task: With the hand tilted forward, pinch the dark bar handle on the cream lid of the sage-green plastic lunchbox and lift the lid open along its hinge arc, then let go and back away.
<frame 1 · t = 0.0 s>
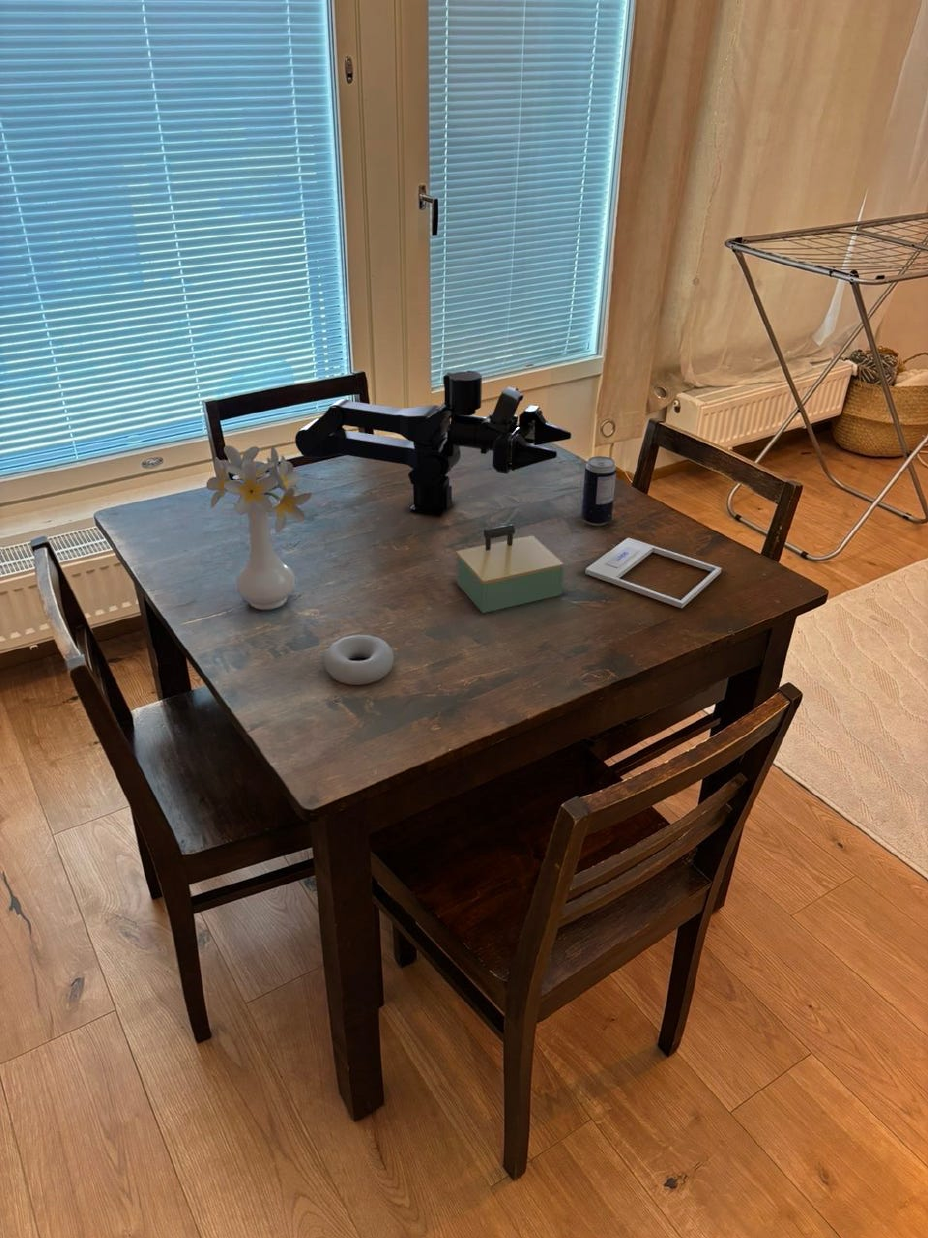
hand: (563, 444, 161), 17 cm above the table, tool horizontal, fingers open, 9 cm apart
photo frame: (652, 574, 156), on the table
lunchbox lid: (509, 549, 148), point 7 cm above the table, hinge at 0.0°
lunchbox: (508, 589, 152), on the table
flower vase: (273, 601, 148), on the table
donut: (359, 669, 133), on the table
beverage can: (595, 521, 173), on the table
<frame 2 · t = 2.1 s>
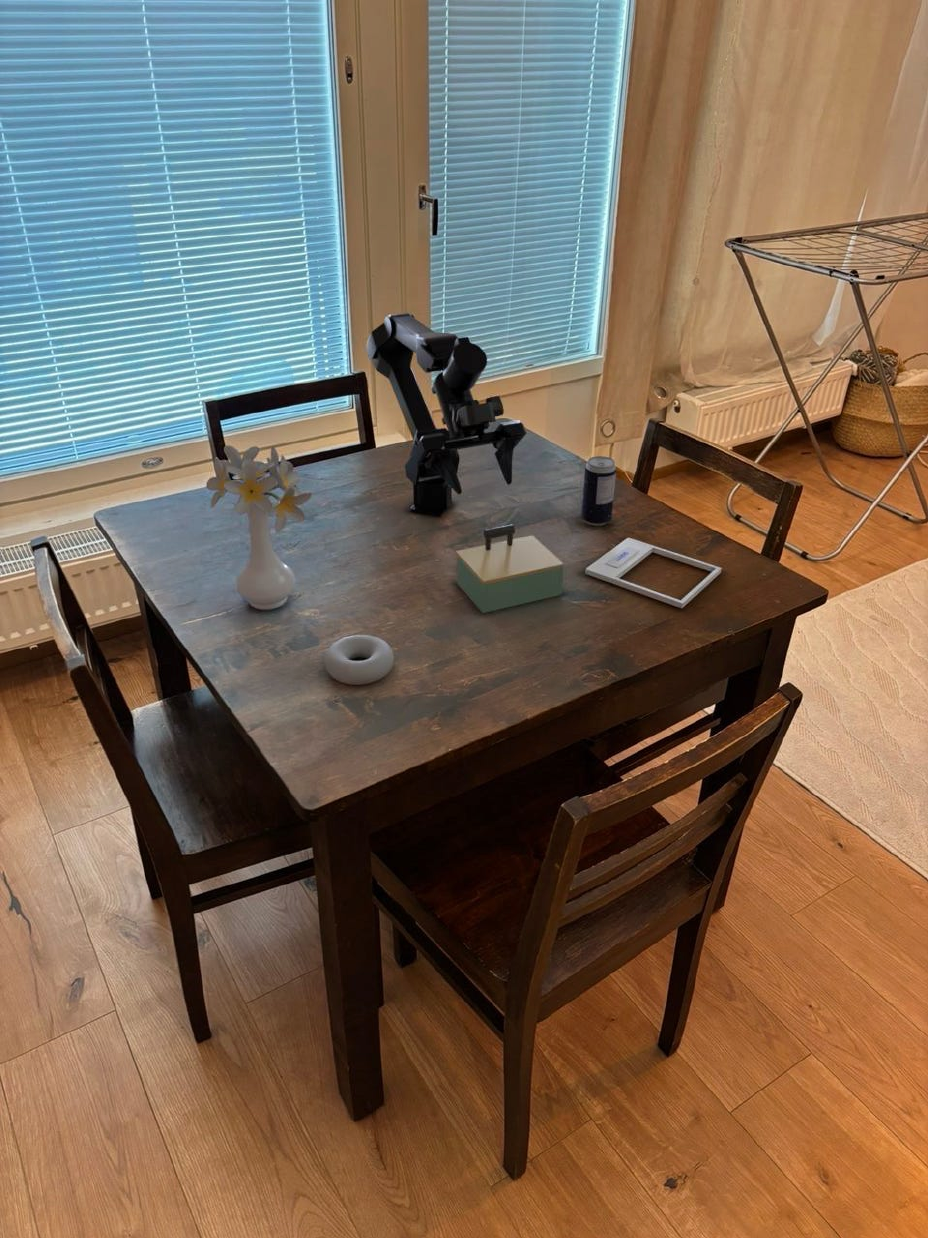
hand: (485, 488, 153), 14 cm above the table, tool tilted 45°, fingers open, 9 cm apart
nothing on the table moved.
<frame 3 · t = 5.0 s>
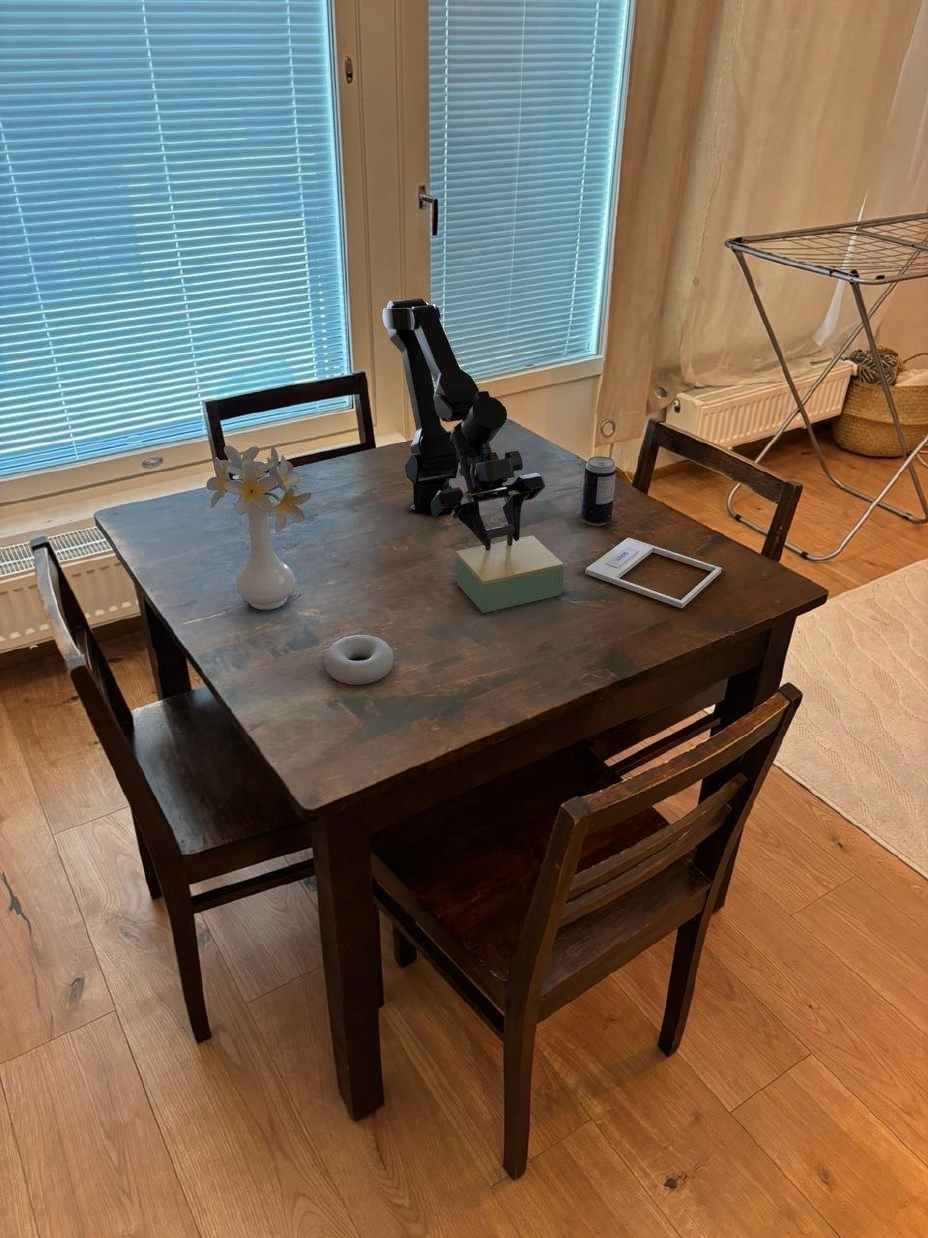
hand: (502, 543, 150), 7 cm above the table, tool tilted 45°, fingers closed on lunchbox lid, 5 cm apart
lunchbox lid: (509, 549, 148), point 7 cm above the table, hinge at 0.0°, touching gripper
everything else where it was.
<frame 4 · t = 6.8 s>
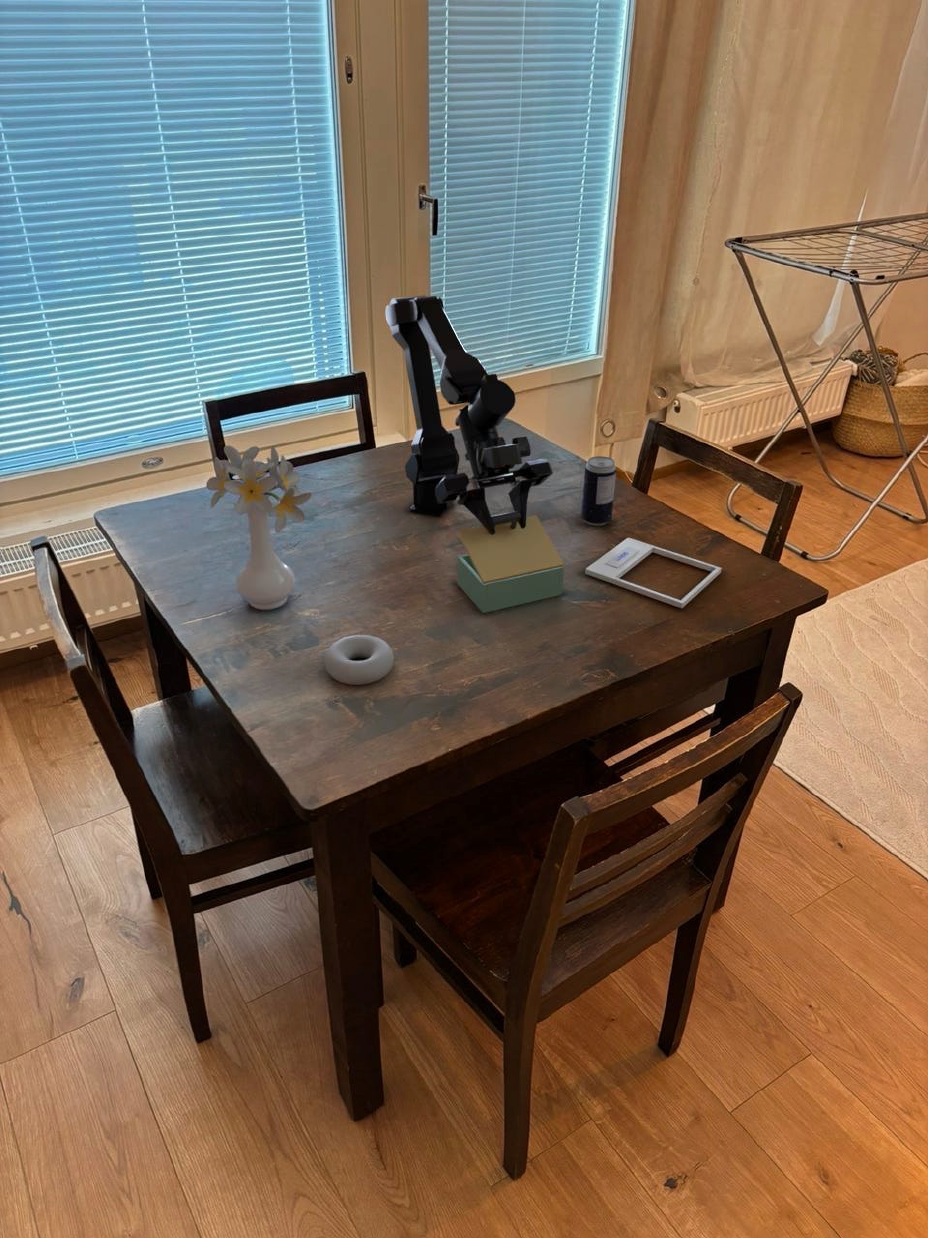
hand: (508, 531, 147), 10 cm above the table, tool tilted 45°, fingers closed on lunchbox lid, 5 cm apart
lunchbox lid: (512, 541, 146), point 9 cm above the table, hinge at 22.9°, touching gripper
everything else where it was.
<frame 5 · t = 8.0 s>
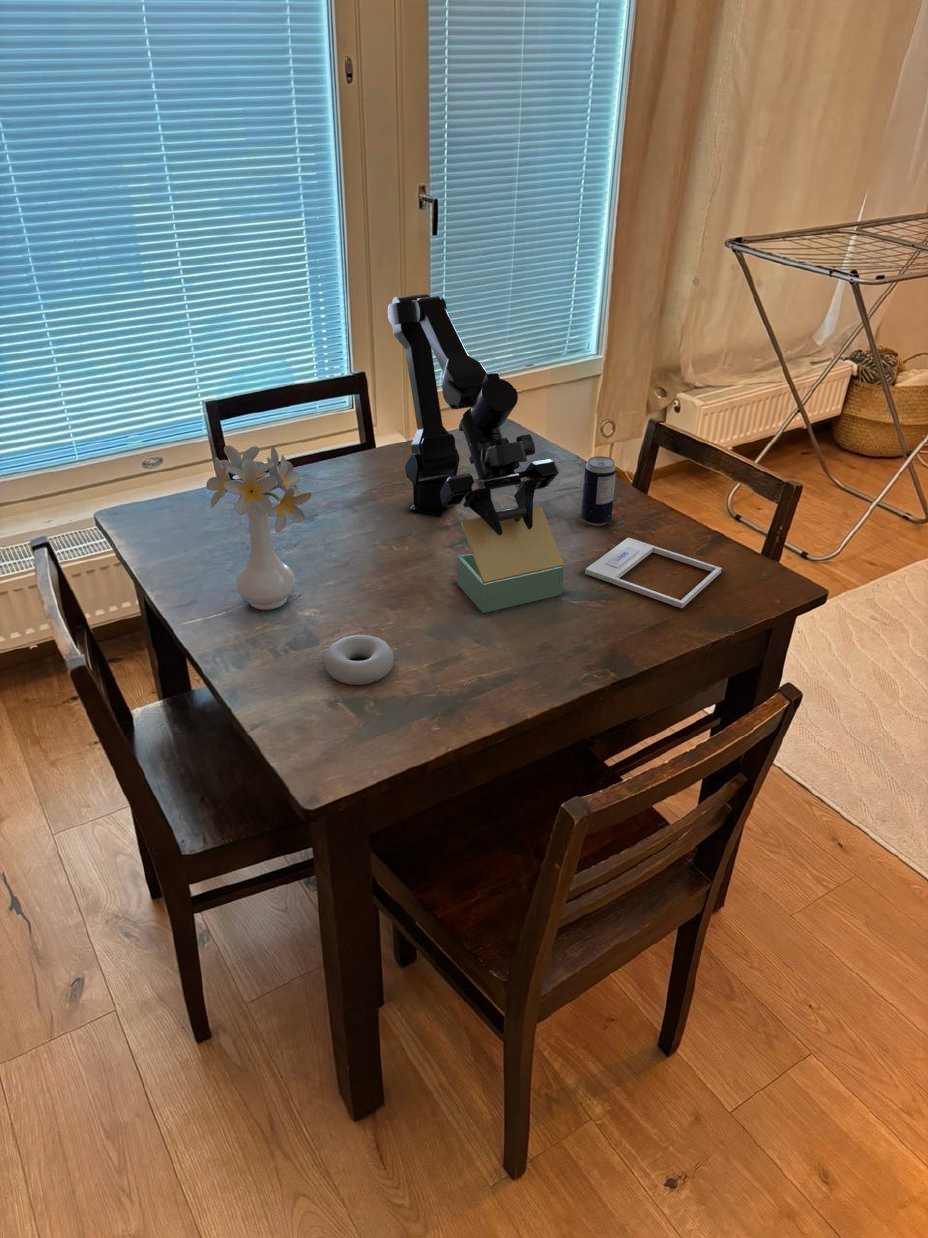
hand: (515, 531, 144), 11 cm above the table, tool tilted 50°, fingers closed on lunchbox lid, 5 cm apart
lunchbox lid: (516, 538, 145), point 10 cm above the table, hinge at 37.6°, touching gripper
everything else where it was.
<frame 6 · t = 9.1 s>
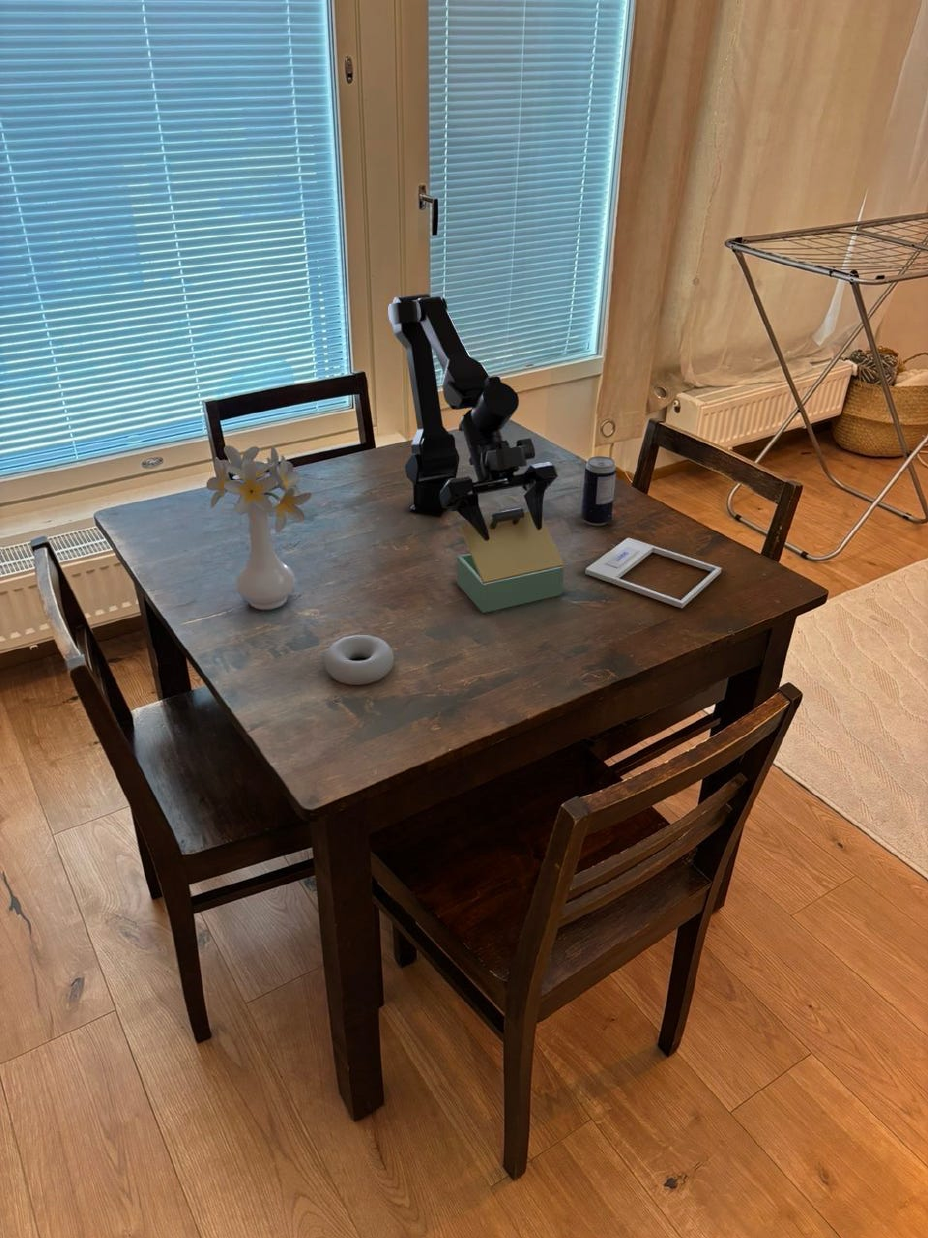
hand: (514, 534, 145), 11 cm above the table, tool tilted 45°, fingers open, 9 cm apart
lunchbox lid: (514, 539, 145), point 10 cm above the table, hinge at 31.2°
everything else where it was.
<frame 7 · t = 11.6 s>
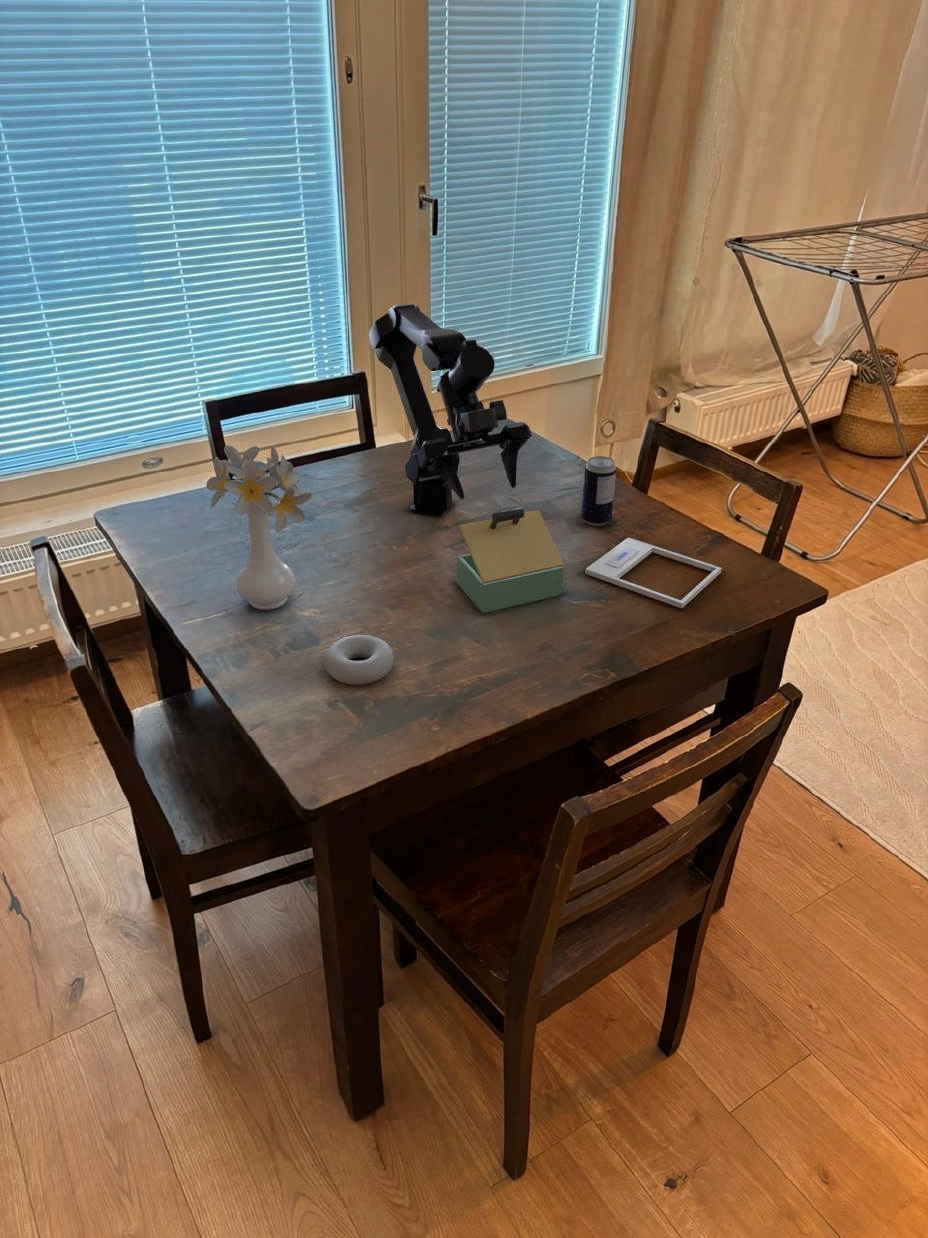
hand: (488, 492, 152), 13 cm above the table, tool tilted 40°, fingers open, 9 cm apart
nothing on the table moved.
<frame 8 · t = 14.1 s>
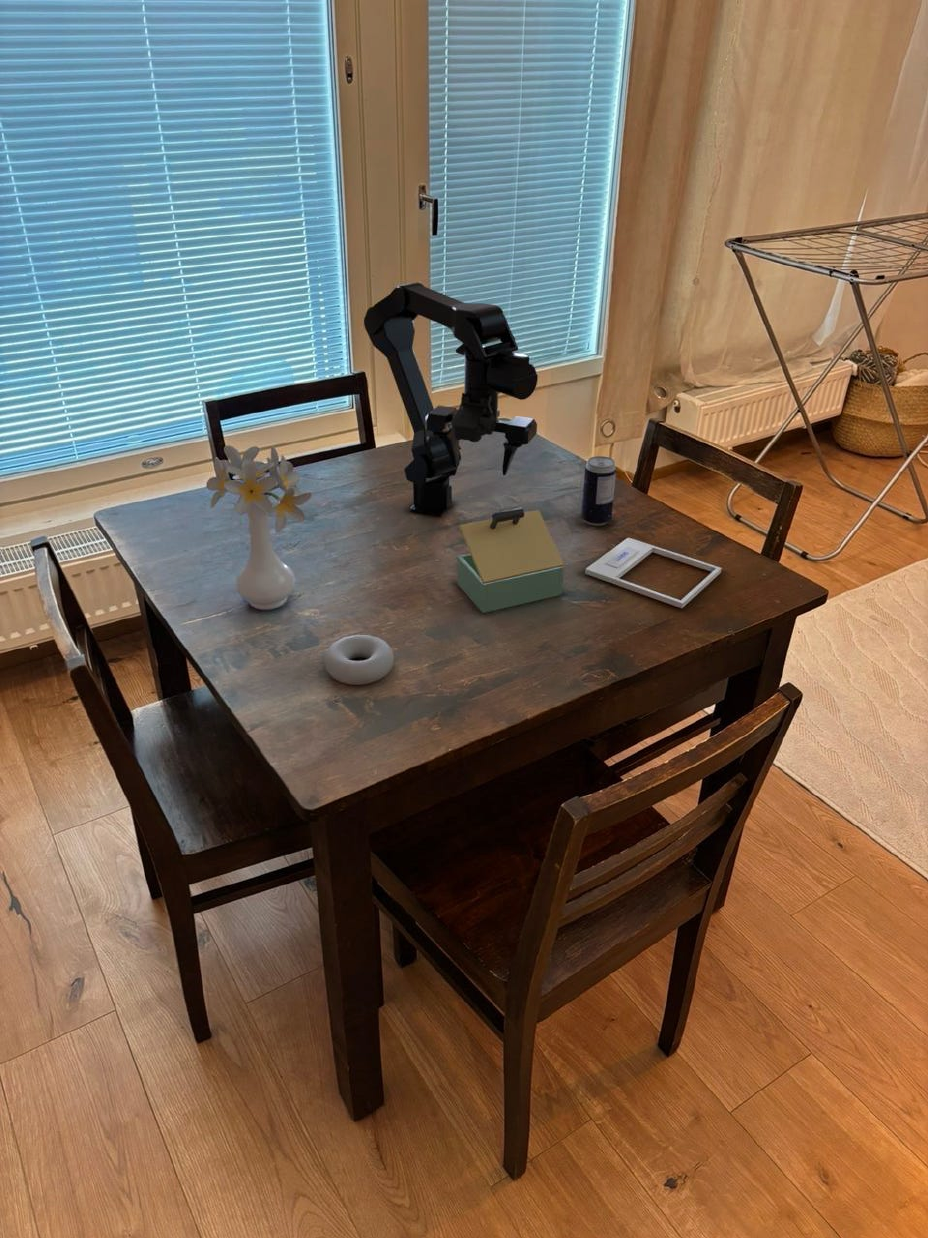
hand: (480, 470, 163), 12 cm above the table, tool pointing down, fingers open, 9 cm apart
nothing on the table moved.
at the end: lunchbox lid at +31° (first picture: +0°) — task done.
